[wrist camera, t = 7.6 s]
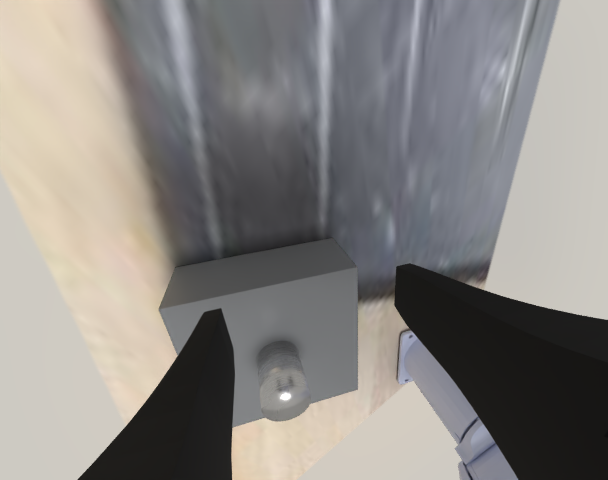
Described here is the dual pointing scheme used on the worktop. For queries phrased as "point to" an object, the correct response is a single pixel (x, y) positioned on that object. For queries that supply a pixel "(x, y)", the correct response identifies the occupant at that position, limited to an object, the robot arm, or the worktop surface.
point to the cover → (276, 324)
